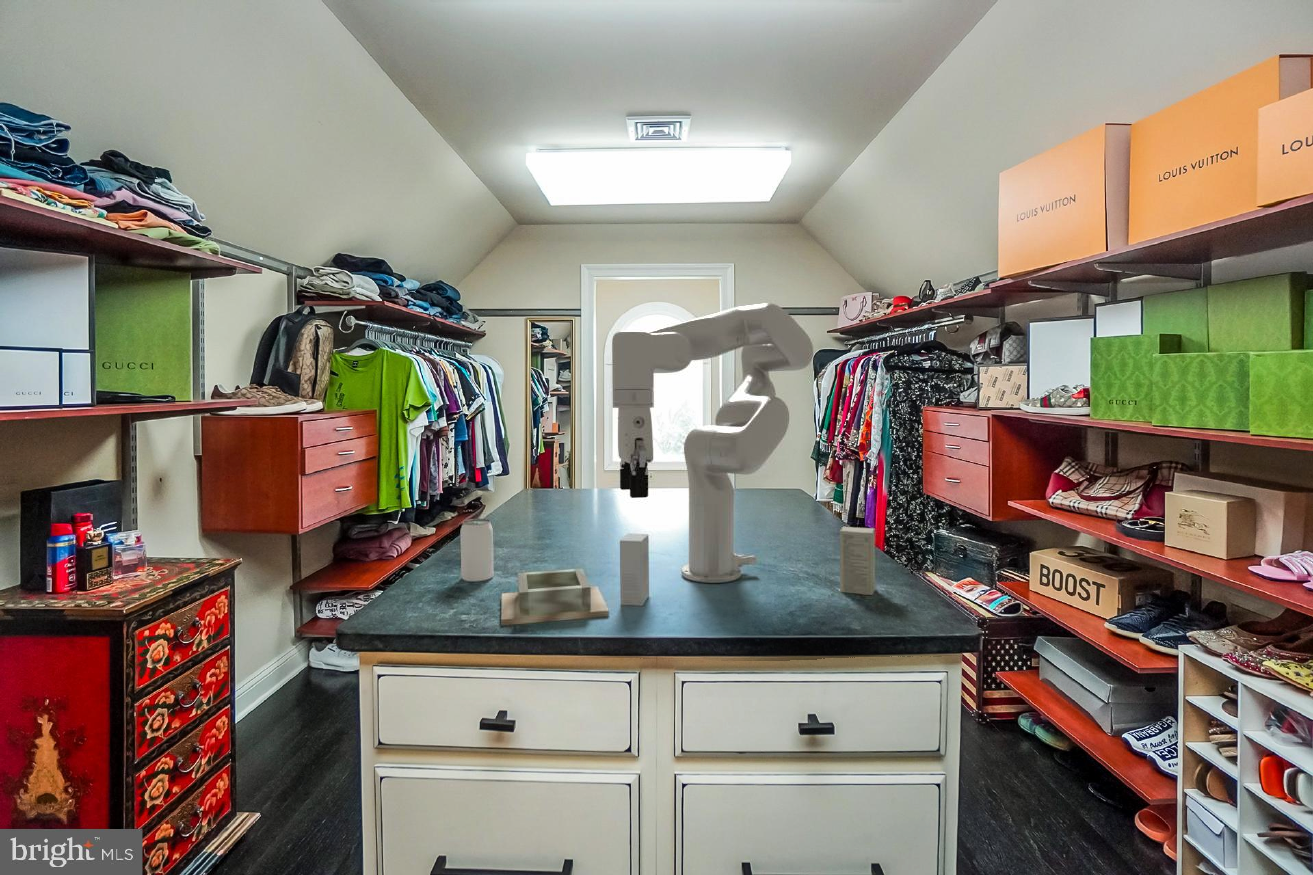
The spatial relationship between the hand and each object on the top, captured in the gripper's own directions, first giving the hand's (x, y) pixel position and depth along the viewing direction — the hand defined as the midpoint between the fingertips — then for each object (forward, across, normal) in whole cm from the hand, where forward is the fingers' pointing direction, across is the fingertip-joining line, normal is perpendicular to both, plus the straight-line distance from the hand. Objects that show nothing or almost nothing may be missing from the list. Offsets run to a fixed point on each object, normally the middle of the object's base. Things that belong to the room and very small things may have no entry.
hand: (633, 493), depth 114 cm
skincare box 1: (+20, 0, 0) cm, 20 cm away
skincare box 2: (+20, -5, -43) cm, 48 cm away
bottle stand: (+20, 0, +15) cm, 25 cm away
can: (+20, +22, +29) cm, 42 cm away
